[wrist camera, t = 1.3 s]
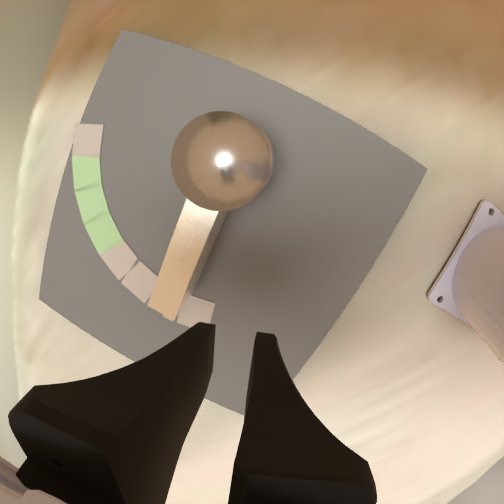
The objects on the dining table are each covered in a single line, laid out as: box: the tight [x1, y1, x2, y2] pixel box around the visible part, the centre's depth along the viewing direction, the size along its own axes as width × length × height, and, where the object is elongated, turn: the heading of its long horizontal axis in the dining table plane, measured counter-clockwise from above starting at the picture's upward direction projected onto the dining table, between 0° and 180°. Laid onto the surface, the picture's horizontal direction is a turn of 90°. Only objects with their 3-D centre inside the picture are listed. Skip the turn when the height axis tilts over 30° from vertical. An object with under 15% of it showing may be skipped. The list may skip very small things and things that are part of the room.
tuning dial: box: [148, 111, 276, 321], centre depth 17 cm, size 13×4×4 cm, turn 156°
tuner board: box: [39, 29, 427, 416], centre depth 20 cm, size 21×22×1 cm
